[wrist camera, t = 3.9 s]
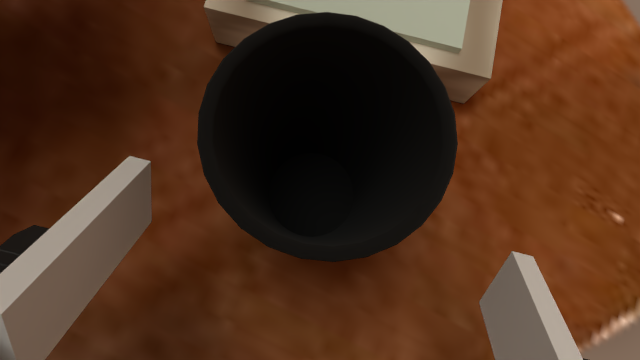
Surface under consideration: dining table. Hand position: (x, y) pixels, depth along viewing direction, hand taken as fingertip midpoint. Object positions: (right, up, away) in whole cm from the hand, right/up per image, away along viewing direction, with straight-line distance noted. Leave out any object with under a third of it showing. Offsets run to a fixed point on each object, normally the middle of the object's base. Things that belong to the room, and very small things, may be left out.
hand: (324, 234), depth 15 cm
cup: (-1, +1, +9) cm, 9 cm away
